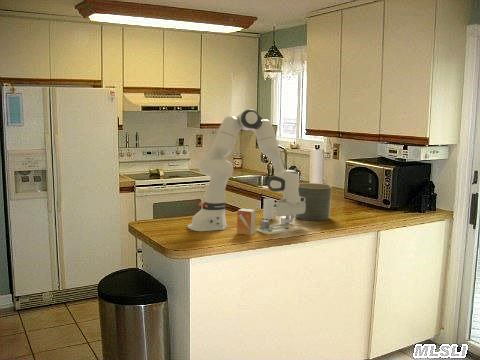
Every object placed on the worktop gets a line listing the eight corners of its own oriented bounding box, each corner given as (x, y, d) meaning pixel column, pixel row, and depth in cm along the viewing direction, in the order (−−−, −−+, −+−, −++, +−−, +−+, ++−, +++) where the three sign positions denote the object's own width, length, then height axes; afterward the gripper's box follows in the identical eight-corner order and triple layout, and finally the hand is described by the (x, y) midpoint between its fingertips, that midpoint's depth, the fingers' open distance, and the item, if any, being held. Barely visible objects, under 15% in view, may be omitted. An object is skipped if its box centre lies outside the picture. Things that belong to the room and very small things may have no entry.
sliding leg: (290, 228, 278) (290, 220, 278) (280, 225, 285) (280, 217, 284) (294, 227, 280) (294, 220, 279) (284, 224, 287) (284, 217, 286)
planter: (336, 217, 317) (338, 186, 314) (317, 223, 301) (318, 189, 298) (307, 212, 332) (309, 182, 329) (287, 217, 315) (288, 185, 313)
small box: (236, 234, 269) (237, 210, 268) (240, 231, 275) (241, 208, 273) (250, 235, 266) (251, 211, 265) (254, 233, 272) (255, 209, 270)
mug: (261, 219, 307) (262, 199, 305) (264, 217, 313) (265, 198, 312) (277, 220, 304) (278, 201, 302) (280, 218, 310) (281, 199, 308)
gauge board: (268, 234, 269) (268, 223, 269) (256, 230, 278) (257, 220, 277) (299, 229, 282) (299, 219, 281) (287, 226, 290) (287, 216, 289)
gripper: (280, 201, 276) (279, 225, 278) (307, 198, 288) (306, 221, 290) (273, 199, 281) (272, 223, 283) (300, 196, 293) (299, 219, 295)
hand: (289, 222), depth 286 cm, fingers closed
